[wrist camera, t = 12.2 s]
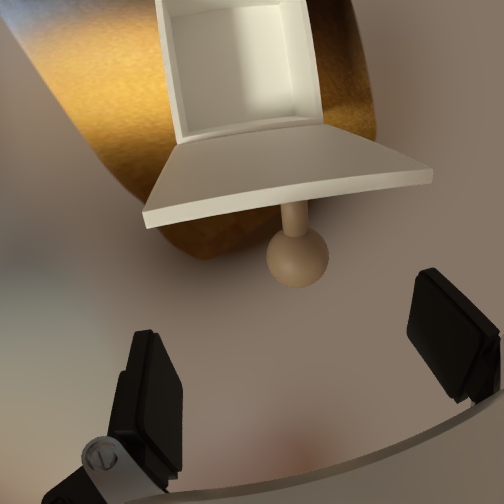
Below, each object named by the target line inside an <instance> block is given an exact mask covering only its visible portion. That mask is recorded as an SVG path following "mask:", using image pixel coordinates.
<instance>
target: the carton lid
mask: <svg viewBox="0 0 504 504" xmlns="http://www.w3.org/2000/svg"><path fill="white" fill-rule="evenodd" d="M432 182H433V168H431V167H429V166H427V165H425V164H423V163H421V162H418V161H416V160H414V159H412V158H410V157H408V156H405V155H403V154H401V153H399V152H397V151H394V150H392V149H389V148H387V147H385V146H382V145H380V144H378V143H375V142H373V141H370V140H368V139H365V138H363V137H360V136H358V135H355V134H352V133H350V132H347V131H344V130H342V129H339V128H336V127H333V126H330V125H327V124H319V125H308V126H298V127H289V128H280V129H272V130H264V131H257V132H250V133H243V134H236V135H230V136H224V137H218V138H213V139H207V140H202V141H197V142H191V143H186V144H182V145H177V146H175V147H174V149H173V151H172V153H171V155H170V157H169V159H168V160H167V162H166V164H165V166H164V168H163V170H162V172H161V174H160V176H159V178H158V180H157V182H156V184H155V186H154V188H153V190H152V192H151V194H150V196H149V199H148V201H147V203H146V205H145V207H144V209H143V211H142V214H143V218H144V221H145V225H146V228H152V227H157V226H162V225H167V224H172V223H177V222H182V221H187V220H192V219H198V218H203V217H208V216H214V215H219V214H224V213H230V212H236V211H241V210H247V209H253V208H258V207H264V206H270V205H276V204H281V212H282V222H283V229H282V230H280V231H279V232H278V233H277V234H276V235H275V236H274V237H273V238H272V240H271V241H270V243H269V246H268V249H267V264H268V267H269V269H270V271H271V273H272V275H273V276H274V277H275V278H276V279H277V280H278V281H279V282H281V283H282V284H284V285H286V286H289V287H294V288H301V287H306V286H309V285H311V284H313V283H315V282H316V281H317V280H319V278H320V277H321V276H322V275H323V274H324V272H325V270H326V268H327V264H328V260H329V254H328V248H327V245H326V243H325V241H324V239H323V238H322V236H320V234H319V233H318V232H316V231H315V230H313V229H312V228H309V227H308V211H307V210H308V209H307V200H308V199H314V198H321V197H327V196H334V195H341V194H348V193H356V192H363V191H370V190H377V189H386V188H394V187H402V186H411V185H419V184H428V183H432Z"/></svg>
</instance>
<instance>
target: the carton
mask: <svg viewBox="0 0 504 504" xmlns="http://www.w3.org/2000/svg"><path fill="white" fill-rule="evenodd" d="M155 4H156V12H157V20H158V28H159V35H160V43H161V50H162V57H163V63H164V70H165V76H166V82H167V89H168V95H169V101H170V107H171V112H172V118H173V124H174V129H175V135H176V140H177V145H181V144H186V143H191V142H196V141H201V140H207V139H212V138H218V137H224V136H230V135H236V134H242V133H249V132H256V131H263V130H271V129H279V128H288V127H297V126H307V125H318V124H324V122H323V113H322V104H321V95H320V87H319V79H318V72H317V65H316V58H315V51H314V45H313V38H312V32H311V26H310V21H309V15H308V10H307V4H306V0H155Z"/></svg>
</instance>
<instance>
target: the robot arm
mask: <svg viewBox="0 0 504 504" xmlns="http://www.w3.org/2000/svg"><path fill="white" fill-rule="evenodd" d="M499 332H500V331H499V329H498V328H496V326H495V325H494V324H493V323H492V322H491V321H490V320H489V319H488V318H487V317H486V316H485V315H484V314H483V313H482V312H481V311H480V310H479V309H478V308H477V307H476V306H475V305H474V304H473V303H472V302H471V301H470V300H469V299H468V298H467V297H466V296H465V295H464V294H463V293H462V292H461V291H459V290H458V289H457V288H456V287H455V286H454V285H453V284H452V283H451V282H450V281H449V280H447V278H445V277H444V276H443V275H442V274H441V273H440V272H439V271H438V270H437V269H435V268H429V269H425V270H422V271H420V272H419V274H418V276H417V277H416V279H415V285H414V292H413V298H412V304H411V309H410V315H409V320H408V325H407V336H408V338H409V340H410V341H411V342H412V344H413V345H414V347H415V348H416V349H417V351H418V352H419V354H420V355H421V356H422V358H423V359H424V361H425V362H426V363H427V365H428V366H429V368H430V369H431V371H432V372H433V374H434V375H435V377H436V378H437V380H438V381H439V383H440V384H441V385H442V387H443V389H444V390H445V392H446V393H447V395H448V396H449V397H450V398H453V399H454V400H455V402H456V403H457V404H458V403H460V402H462V401H463V400H465V399H467V398H468V397H469V398H470V399H471V407H470V408H469V409H467V410H465V411H464V412H462V413H460V414H458V415H457V416H454V417H453V418H451V419H449V420H447V421H445V422H443V423H441V424H439V425H437V426H434V427H432V428H431V429H428V430H426V431H424V432H422V433H419V434H417V435H415V436H413V437H410V438H408V439H406V440H403V441H401V442H399V443H396V444H394V445H391V446H389V447H386V448H383V449H381V450H378V451H375V452H372V453H370V454H367V455H364V456H361V457H358V458H355V459H352V460H349V461H346V462H342V463H339V464H336V465H332V466H329V467H326V468H321V469H318V470H314V471H310V472H306V473H302V474H298V475H293V476H289V477H285V478H279V479H274V480H269V481H263V482H257V483H251V484H245V485H239V486H231V487H223V488H214V489H205V490H193V491H184V492H174V493H170V492H169V490H168V489H167V486H168V480H173V479H178V472H179V471H182V409H183V388H182V384H181V381H180V379H179V377H178V375H177V373H176V371H175V369H174V367H173V364H172V363H171V360H170V358H169V356H168V354H167V351H166V349H165V347H164V345H163V343H162V340H161V338H160V336H159V334H158V333H153V331H152V330H150V329H149V330H143V331H136V332H135V333H134V336H133V340H132V344H131V349H130V353H129V357H128V362H127V366H126V370H125V371H122V372H121V373H120V375H119V378H118V383H117V387H116V392H115V397H114V402H113V406H112V411H111V417H110V422H109V427H108V433H107V436H101V437H97V438H95V439H93V440H91V441H90V442H89V443H88V444H86V446H85V448H84V449H83V452H82V455H81V459H82V464H83V466H81V467H80V468H79V469H77V470H76V471H75V472H74V473H72V474H71V475H70V476H68V477H67V478H66V479H64V480H63V481H62V482H61V483H59V484H58V485H56V486H55V487H54V488H52V489H51V490H50V491H49V492H47V493H46V494H45V495H44V497H43V499H42V502H41V504H504V335H503V336H502V337H501V338H500V337H499V335H498V334H499Z"/></svg>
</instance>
